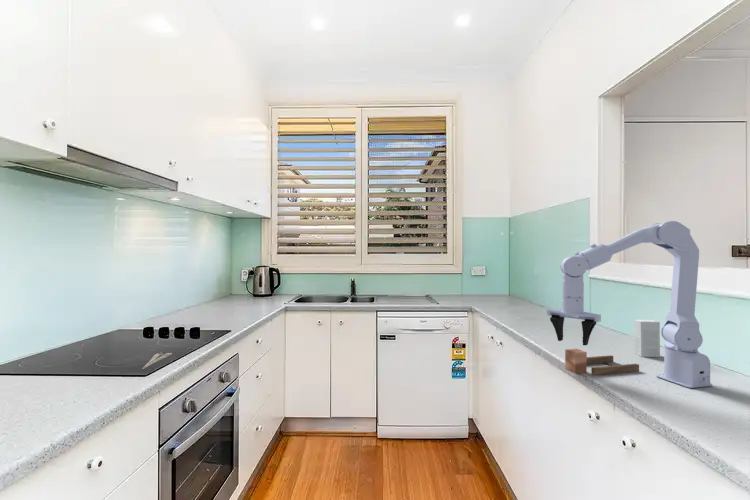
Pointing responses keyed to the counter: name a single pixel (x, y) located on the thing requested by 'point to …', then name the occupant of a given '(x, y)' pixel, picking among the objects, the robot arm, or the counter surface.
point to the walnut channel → (610, 366)
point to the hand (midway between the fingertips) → (572, 342)
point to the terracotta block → (576, 360)
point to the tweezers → (157, 359)
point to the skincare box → (647, 338)
